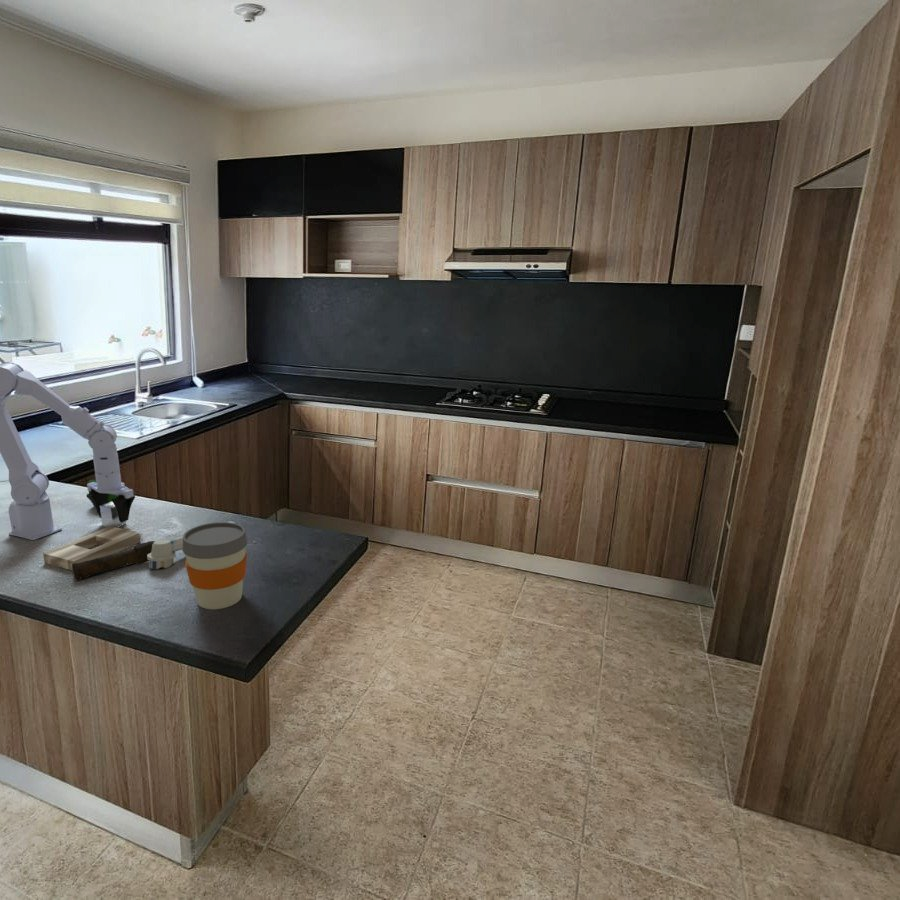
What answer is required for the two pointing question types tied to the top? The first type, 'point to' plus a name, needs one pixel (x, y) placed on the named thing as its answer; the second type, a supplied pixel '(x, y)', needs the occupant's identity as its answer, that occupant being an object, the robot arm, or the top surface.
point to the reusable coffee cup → (216, 563)
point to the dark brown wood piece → (113, 561)
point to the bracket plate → (78, 549)
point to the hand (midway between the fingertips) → (113, 518)
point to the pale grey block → (110, 515)
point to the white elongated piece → (165, 552)
